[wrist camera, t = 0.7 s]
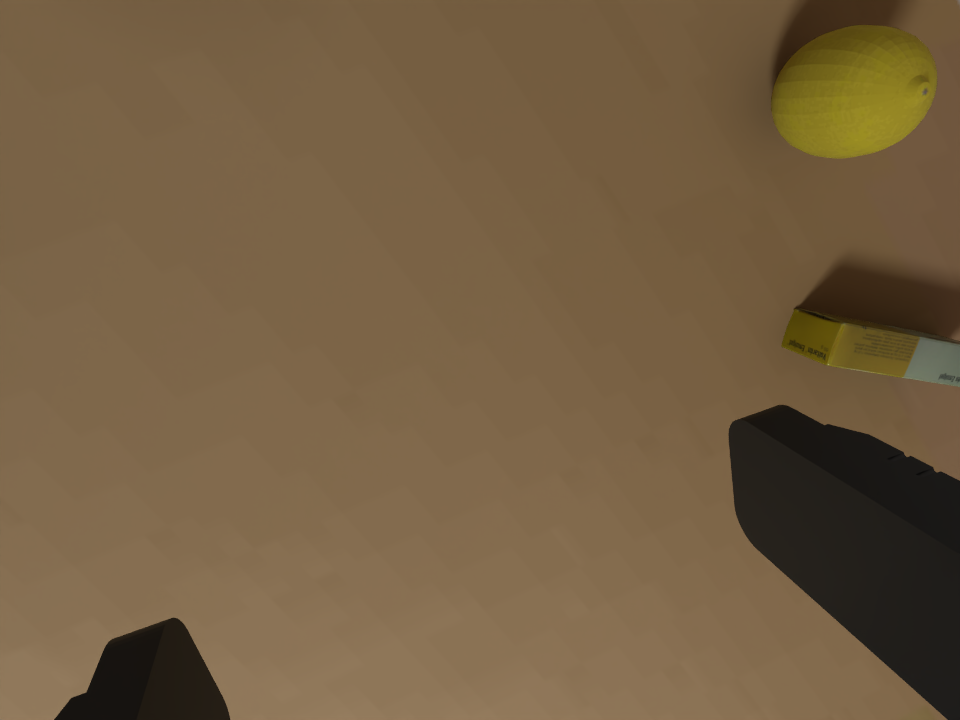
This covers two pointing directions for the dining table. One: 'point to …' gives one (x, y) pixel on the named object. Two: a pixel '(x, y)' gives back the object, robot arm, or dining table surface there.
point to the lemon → (854, 91)
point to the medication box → (873, 347)
